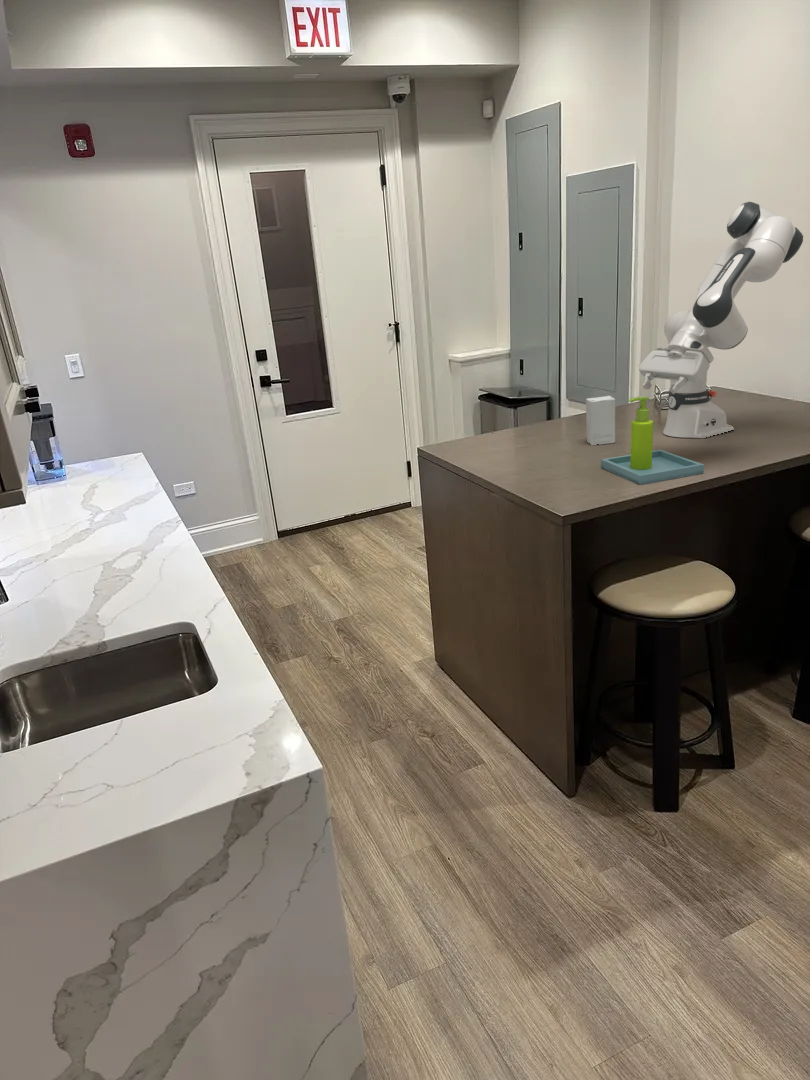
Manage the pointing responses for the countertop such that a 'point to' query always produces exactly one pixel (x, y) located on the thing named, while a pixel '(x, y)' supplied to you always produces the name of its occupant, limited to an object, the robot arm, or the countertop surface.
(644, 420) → the soap dispenser
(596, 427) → the skincare box
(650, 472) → the tray
